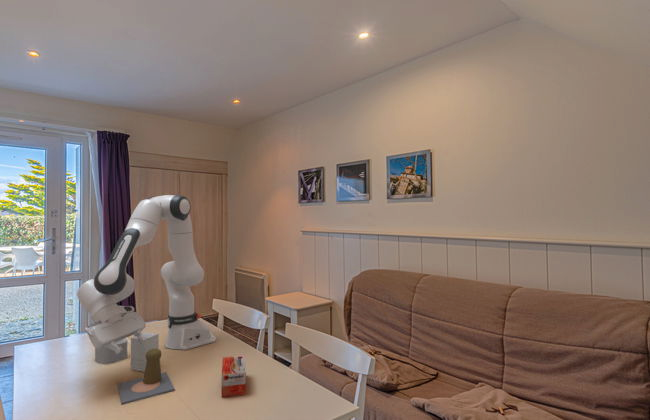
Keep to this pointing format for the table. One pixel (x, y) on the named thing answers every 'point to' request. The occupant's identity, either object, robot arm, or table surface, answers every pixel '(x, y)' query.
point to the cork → (152, 367)
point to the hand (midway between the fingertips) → (131, 347)
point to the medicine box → (233, 376)
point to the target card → (143, 389)
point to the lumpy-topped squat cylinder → (111, 353)
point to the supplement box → (142, 350)
